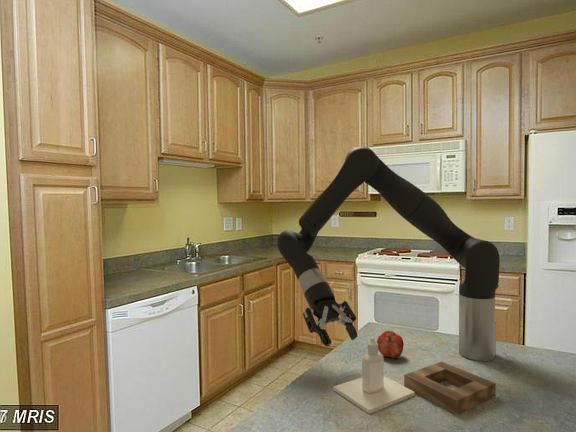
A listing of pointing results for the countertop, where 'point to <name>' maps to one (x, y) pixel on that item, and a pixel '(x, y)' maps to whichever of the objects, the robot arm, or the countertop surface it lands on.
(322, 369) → the countertop surface
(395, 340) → the pomegranate
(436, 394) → the walnut socket stand
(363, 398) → the off-white tile
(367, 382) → the eye dropper bottle
